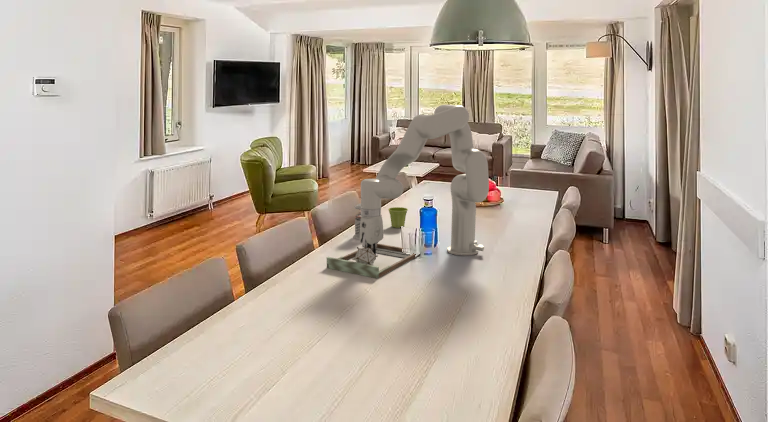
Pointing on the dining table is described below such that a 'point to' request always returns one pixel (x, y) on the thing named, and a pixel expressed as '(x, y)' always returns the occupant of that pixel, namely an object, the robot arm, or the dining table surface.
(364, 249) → the game die
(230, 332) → the dining table surface
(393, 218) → the plant pot
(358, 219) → the french press
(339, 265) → the shallow open box
